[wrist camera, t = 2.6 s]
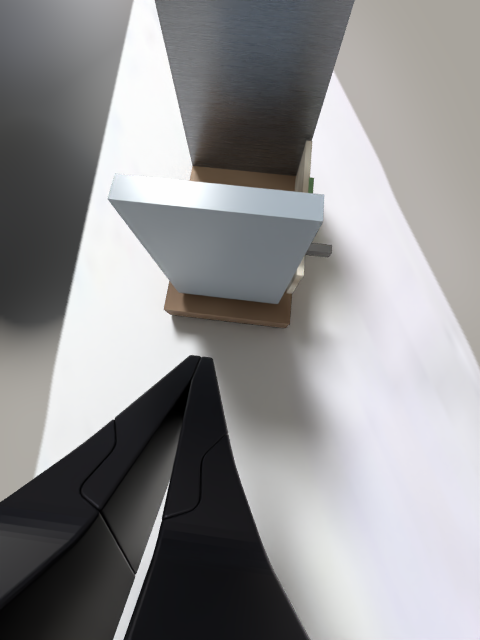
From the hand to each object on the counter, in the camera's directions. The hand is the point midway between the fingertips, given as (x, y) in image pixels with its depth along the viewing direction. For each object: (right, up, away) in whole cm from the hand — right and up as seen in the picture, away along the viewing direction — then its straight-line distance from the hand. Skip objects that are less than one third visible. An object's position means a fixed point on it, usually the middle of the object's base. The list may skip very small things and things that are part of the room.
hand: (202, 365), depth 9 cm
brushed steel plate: (+2, +15, +11) cm, 19 cm away
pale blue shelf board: (+2, +5, +8) cm, 10 cm away
